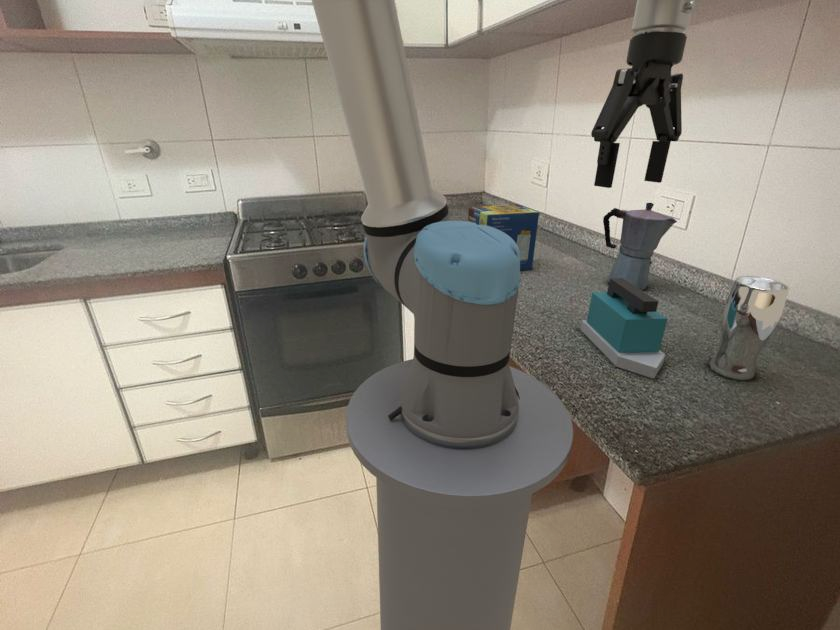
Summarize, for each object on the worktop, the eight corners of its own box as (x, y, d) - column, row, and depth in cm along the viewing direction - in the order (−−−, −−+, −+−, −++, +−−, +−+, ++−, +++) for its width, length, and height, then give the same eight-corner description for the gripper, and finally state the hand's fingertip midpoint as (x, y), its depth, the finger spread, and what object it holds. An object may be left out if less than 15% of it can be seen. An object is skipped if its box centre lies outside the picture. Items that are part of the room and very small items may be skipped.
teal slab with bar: (579, 329, 84) (589, 274, 80) (619, 328, 85) (631, 274, 81) (629, 379, 68) (645, 314, 63) (677, 378, 69) (697, 313, 64)
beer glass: (696, 361, 74) (722, 276, 67) (731, 358, 75) (760, 274, 69) (730, 384, 67) (763, 292, 61) (768, 379, 69) (804, 289, 63)
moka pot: (663, 295, 102) (686, 208, 94) (593, 288, 106) (609, 203, 97) (655, 282, 110) (676, 201, 102) (590, 275, 114) (605, 196, 106)
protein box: (464, 263, 122) (467, 206, 116) (512, 258, 127) (518, 204, 120) (481, 275, 113) (486, 214, 107) (533, 269, 118) (540, 211, 112)
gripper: (630, 19, 55) (599, 192, 64) (728, 39, 68) (692, 182, 76) (581, 28, 61) (559, 185, 70) (680, 45, 73) (651, 177, 82)
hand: (628, 184), depth 73 cm, fingers open, 13 cm apart
